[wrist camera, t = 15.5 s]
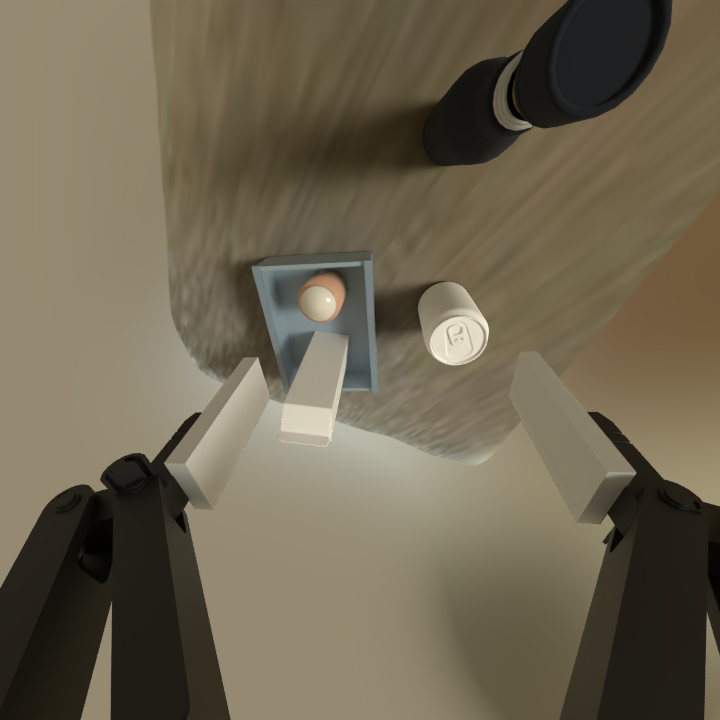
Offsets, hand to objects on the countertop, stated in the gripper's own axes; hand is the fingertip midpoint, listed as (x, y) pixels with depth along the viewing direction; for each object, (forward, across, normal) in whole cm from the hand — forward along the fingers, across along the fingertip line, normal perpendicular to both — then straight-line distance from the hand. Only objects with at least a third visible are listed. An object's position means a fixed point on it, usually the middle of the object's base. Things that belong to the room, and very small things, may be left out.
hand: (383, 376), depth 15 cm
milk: (+32, -10, -17) cm, 38 cm away
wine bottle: (+33, +8, +12) cm, 36 cm away
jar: (+32, -9, -6) cm, 34 cm away
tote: (+33, -10, -12) cm, 36 cm away
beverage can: (+33, +9, -10) cm, 36 cm away
